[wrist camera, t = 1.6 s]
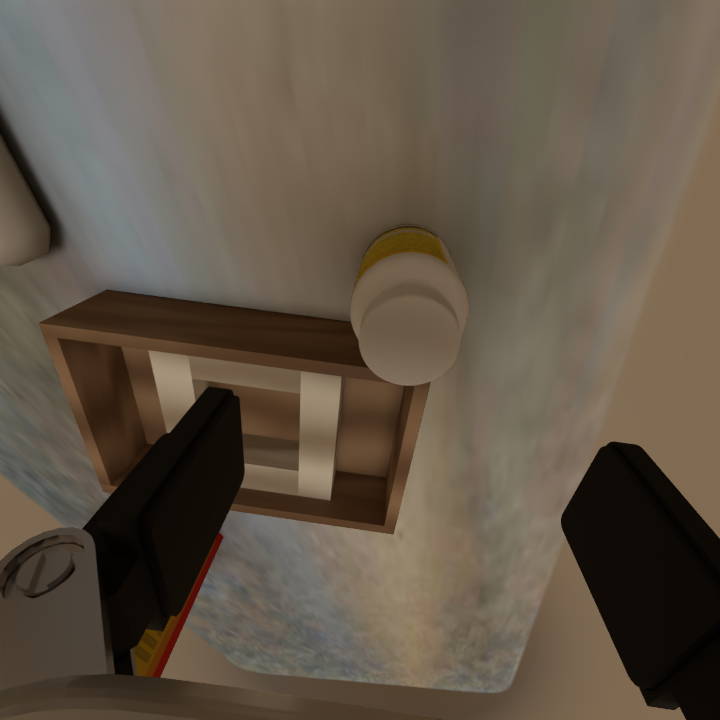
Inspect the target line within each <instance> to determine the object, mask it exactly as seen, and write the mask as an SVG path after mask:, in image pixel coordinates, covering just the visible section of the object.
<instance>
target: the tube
mask: <svg viewBox="0 0 720 720" xmlns="http://www.w3.org/2000/svg"><path fill="white" fill-rule="evenodd" d="M50 235H51V226H50V224H49V223H48V221H47V219H46V217H45V215H44V213H43V211H42V210H41V208H40V206H39V204H38V202H37V200H36V198H35V197H34V195H33V193H32V191H31V189H30V187H29V186H28V184H27V182H26V180H25V178H24V176H23V174H22V173H21V171H20V169H19V167H18V165H17V163H16V161H15V160H14V158H13V156H12V154H11V152H10V150H9V149H8V147H7V145H6V143H5V141H4V139H3V137H2V136H1V134H0V266H21V265H23V264H26V263H28V262H30V261H32V260H34V259H36V258H39V257H41V256H43V255H45V254H47V253H49V245H50Z"/></svg>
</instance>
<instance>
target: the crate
mask: <svg viewBox="0 0 720 720" xmlns="http://www.w3.org/2000/svg"><path fill="white" fill-rule="evenodd" d="M39 326H40V329H41V331H42V334H43V336H44V339H45V341H46V344H47V347H48V349H49V352H50V354H51V357H52V360H53V362H54V365H55V367H56V370H57V373H58V375H59V378H60V380H61V383H62V386H63V388H64V391H65V393H66V396H67V399H68V401H69V404H70V406H71V409H72V412H73V414H74V417H75V419H76V422H77V424H78V427H79V430H80V432H81V435H82V437H83V440H84V443H85V445H86V448H87V450H88V453H89V456H90V458H91V461H92V463H93V466H94V469H95V471H96V474H97V476H98V479H99V482H100V484H101V487H102V489H103V492H110V493H113V492H114V491H115V490H116V489H117V487H118V486H119V485H120V484H121V483H122V481H123V480H124V479H125V478H126V477H127V476H128V474H129V473H130V472H131V471H132V470H133V468H134V467H135V466H136V465H137V464H138V463H139V461H140V460H141V459H142V458H143V457H144V456H145V454H146V453H147V452H148V451H149V450H150V448H151V447H152V446H153V445H154V444H155V443H156V441H157V440H158V439H159V438H160V437H161V436H162V435H163V434H166V433H170V432H171V431H172V429H173V428H174V427H175V426H176V424H177V423H178V422H179V421H180V420H181V418H182V417H183V416H184V415H185V414H186V412H187V411H188V410H189V409H190V407H191V406H192V405H193V404H194V403H195V401H196V400H197V399H198V398H199V397H200V395H201V394H202V393H203V392H204V391H205V389H206V388H208V387H218V388H225V389H231V390H232V391H233V394H234V395H235V396H239V398H240V409H241V423H242V437H243V452H244V466H245V473H244V479H243V482H242V484H241V487H240V489H239V491H238V493H237V495H236V497H235V499H234V501H233V503H232V506H231V508H230V510H232V511H238V512H245V513H252V514H259V515H265V516H272V517H279V518H286V519H293V520H299V521H306V522H313V523H320V524H326V525H333V526H340V527H347V528H354V529H360V530H367V531H374V532H381V533H387V534H394V530H395V526H396V522H397V518H398V514H399V510H400V506H401V502H402V497H403V493H404V489H405V485H406V481H407V477H408V473H409V469H410V465H411V461H412V457H413V452H414V448H415V444H416V440H417V436H418V432H419V428H420V424H421V420H422V416H423V411H424V407H425V403H426V399H427V395H428V391H429V387H430V383H431V381H430V382H427V383H424V384H420V385H413V386H405V385H398V384H394V383H391V382H388V381H386V380H384V379H382V378H380V377H379V376H377V375H376V374H375V373H373V372H372V371H371V370H370V369H369V367H368V366H367V365H366V363H365V362H364V360H363V358H362V356H361V353H360V349H359V340H358V338H357V336H356V335H355V332H354V330H353V327H352V323H351V322H345V321H338V320H330V319H323V318H315V317H308V316H300V315H292V314H285V313H277V312H270V311H262V310H255V309H247V308H240V307H232V306H225V305H217V304H209V303H202V302H194V301H187V300H179V299H172V298H164V297H157V296H149V295H141V294H134V293H126V292H119V291H111V290H105V291H103V292H101V293H99V294H97V295H95V296H93V297H91V298H89V299H87V300H85V301H83V302H81V303H79V304H77V305H75V306H73V307H71V308H68V309H66V310H64V311H62V312H60V313H58V314H56V315H54V316H52V317H50V318H48V319H46V320H44V321H42V322H40V323H39Z"/></svg>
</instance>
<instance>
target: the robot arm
mask: <svg viewBox="0 0 720 720" xmlns="http://www.w3.org/2000/svg"><path fill="white" fill-rule="evenodd" d="M244 473H245V466H244V452H243V437H242V423H241V409H240V398H239V396H235V395H234V394H233V391H232V390H231V389H225V388H218V387H208V388H206V389H205V391H204V392H203V393H202V394H201V395H200V397H199V398H198V399H197V400H196V401H195V403H194V404H193V405H192V406H191V407H190V409H189V410H188V411H187V412H186V414H185V415H184V416H183V417H182V418H181V420H180V421H179V422H178V423H177V424H176V426H175V427H174V428H173V429H172V431H171V432H170V433H166V434H163V435H162V436H161V437H160V438H159V439H158V440H157V441H156V443H155V444H154V445H153V446H152V447H151V448H150V450H149V451H148V452H147V453H146V454H145V456H144V457H143V458H142V459H141V460H140V461H139V463H138V464H137V465H136V466H135V467H134V468H133V470H132V471H131V472H130V473H129V474H128V476H127V477H126V478H125V479H124V480H123V481H122V483H121V484H120V485H119V486H118V487H117V489H116V490H115V491H114V492H113V493H112V494H111V496H110V497H109V498H108V499H107V500H106V502H105V503H104V504H103V505H102V506H101V507H100V509H99V510H98V511H97V512H96V513H95V515H94V516H93V517H92V518H91V519H90V520H89V522H88V523H87V524H86V525H85V526H84V528H83V529H78V528H74V527H68V528H57V529H54V530H50V531H46V532H43V533H41V534H39V535H37V536H34V537H32V538H30V539H28V540H26V541H25V542H23V543H22V544H20V545H19V546H17V547H16V548H14V549H13V550H11V551H10V552H9V553H8V554H7V555H6V556H5V557H4V558H3V559H2V560H1V561H0V720H449V719H442V718H436V717H429V716H423V715H417V714H410V713H404V712H397V711H391V710H384V709H378V708H371V707H364V706H358V705H351V704H344V703H338V702H331V701H324V700H317V699H311V698H304V697H298V696H291V695H284V694H278V693H271V692H265V691H258V690H251V689H244V688H237V687H229V686H221V685H213V684H206V683H197V682H190V681H182V680H175V679H167V678H159V677H146V676H138V674H137V668H136V661H135V654H134V647H135V646H137V645H138V644H139V642H140V640H141V638H142V636H143V634H144V632H145V630H146V629H148V630H155V631H162V632H164V629H165V627H166V625H167V623H168V621H169V619H170V617H171V616H178V615H179V613H180V612H181V611H182V609H183V607H184V605H185V603H186V601H187V598H188V596H189V594H190V592H191V590H192V588H193V586H194V584H195V582H196V579H197V577H198V575H199V573H200V571H201V569H202V567H203V565H204V563H205V560H206V558H207V556H208V554H209V552H210V550H211V548H212V546H213V544H214V541H215V539H216V537H217V535H218V533H219V531H220V529H221V527H222V525H223V522H224V520H225V518H226V516H227V514H228V512H229V510H230V508H231V506H232V503H233V501H234V499H235V497H236V495H237V493H238V491H239V489H240V487H241V484H242V482H243V479H244ZM561 526H562V529H563V532H564V534H565V536H566V539H567V541H568V543H569V545H570V547H571V550H572V552H573V554H574V556H575V558H576V561H577V563H578V565H579V567H580V570H581V572H582V574H583V576H584V578H585V581H586V583H587V585H588V587H589V590H590V592H591V594H592V596H593V598H594V601H595V603H596V605H597V607H598V609H599V612H600V614H601V616H602V618H603V621H604V623H605V625H606V627H607V629H608V632H609V634H610V636H611V638H612V640H613V643H614V645H615V647H616V649H617V652H618V653H619V656H620V658H621V660H622V663H623V665H624V667H625V669H626V671H627V674H628V676H629V677H630V679H631V680H632V682H633V683H634V684H635V685H636V686H638V687H639V688H640V691H641V692H642V695H643V697H644V699H645V701H646V704H647V706H651V707H658V708H664V709H671V710H675V709H676V708H678V707H680V708H681V710H682V712H683V714H684V716H685V718H686V720H720V539H719V537H718V536H717V535H716V534H715V533H714V531H713V530H712V529H711V528H710V527H709V526H708V524H707V523H706V522H705V521H704V520H703V519H702V517H701V516H700V515H699V514H698V513H697V512H696V510H695V509H694V508H693V507H692V506H691V505H690V503H689V502H688V501H687V500H686V499H685V498H684V496H683V495H682V494H681V493H680V492H679V490H678V489H677V488H676V487H675V486H674V485H673V483H672V482H671V481H670V480H669V479H668V478H667V477H666V475H665V474H664V473H663V472H662V471H661V469H660V468H659V467H658V466H657V465H656V464H655V462H654V461H653V460H652V459H651V458H650V457H649V455H648V454H647V453H646V452H645V451H644V450H643V449H642V448H641V447H640V446H638V445H635V444H627V443H621V442H610V443H608V444H607V445H606V446H603V447H601V448H600V450H599V451H598V453H597V455H596V456H595V458H594V460H593V462H592V463H591V465H590V467H589V469H588V470H587V472H586V474H585V476H584V477H583V479H582V481H581V483H580V484H579V486H578V488H577V490H576V491H575V493H574V495H573V497H572V498H571V500H570V502H569V504H568V505H567V507H566V509H565V511H564V512H563V514H562V517H561Z"/></svg>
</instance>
